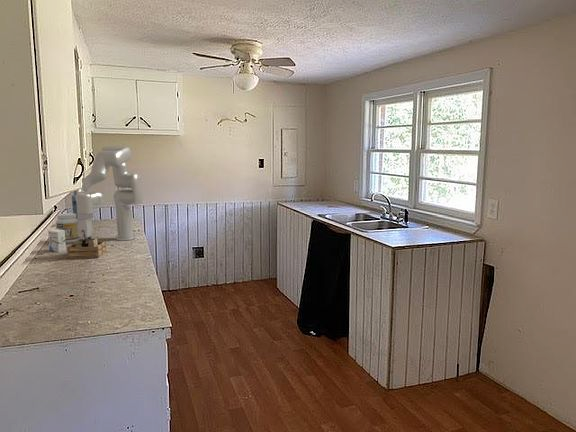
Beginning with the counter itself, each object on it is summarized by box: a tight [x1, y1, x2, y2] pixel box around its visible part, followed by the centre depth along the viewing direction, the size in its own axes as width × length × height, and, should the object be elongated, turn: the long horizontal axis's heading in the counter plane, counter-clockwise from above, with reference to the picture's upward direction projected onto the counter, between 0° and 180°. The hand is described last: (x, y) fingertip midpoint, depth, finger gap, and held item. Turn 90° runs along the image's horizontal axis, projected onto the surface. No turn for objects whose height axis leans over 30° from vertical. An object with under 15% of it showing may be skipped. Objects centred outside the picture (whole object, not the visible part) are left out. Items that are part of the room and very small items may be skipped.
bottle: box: [71, 190, 79, 221], centre depth 325 cm, size 10×10×30 cm
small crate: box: [76, 238, 98, 252], centre depth 241 cm, size 6×9×6 cm, turn 97°
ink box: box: [47, 228, 67, 253], centre depth 250 cm, size 9×5×12 cm, turn 62°
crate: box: [66, 240, 107, 260], centre depth 241 cm, size 14×16×6 cm
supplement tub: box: [55, 212, 80, 244], centre depth 274 cm, size 12×12×17 cm
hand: (87, 248), depth 241 cm, fingers closed on small crate, 6 cm apart
